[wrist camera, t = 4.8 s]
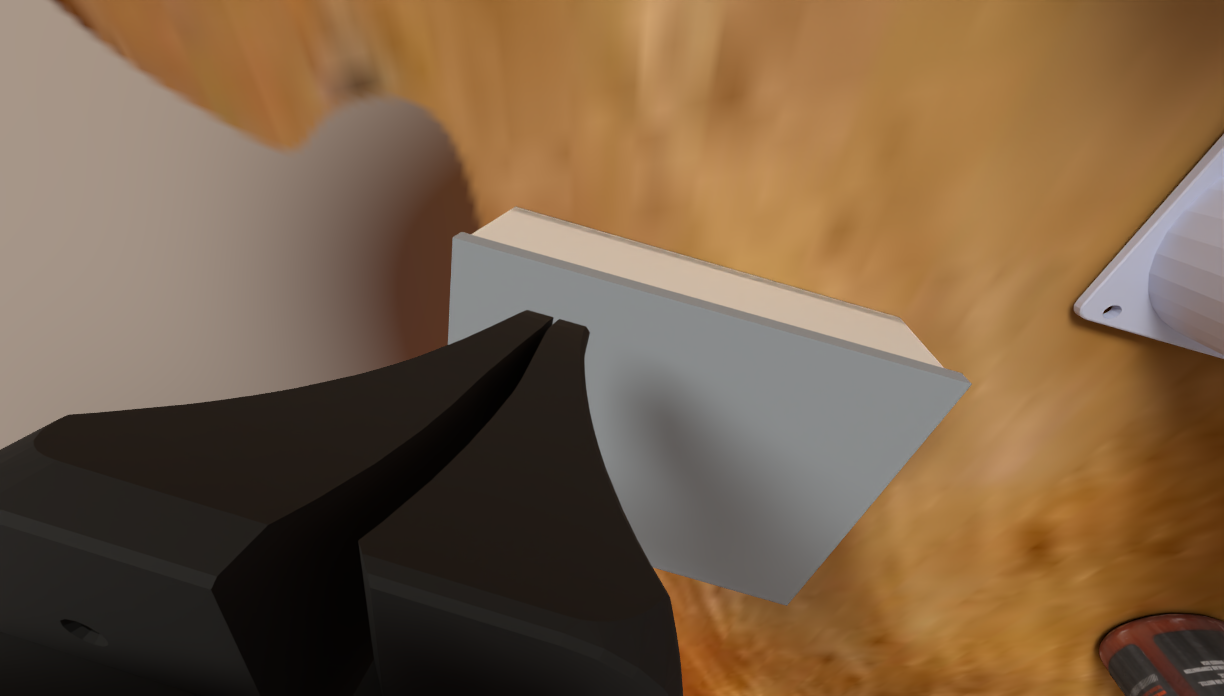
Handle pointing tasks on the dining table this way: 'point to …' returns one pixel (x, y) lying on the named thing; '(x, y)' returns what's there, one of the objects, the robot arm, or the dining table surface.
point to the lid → (719, 415)
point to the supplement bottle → (1167, 656)
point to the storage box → (705, 281)
